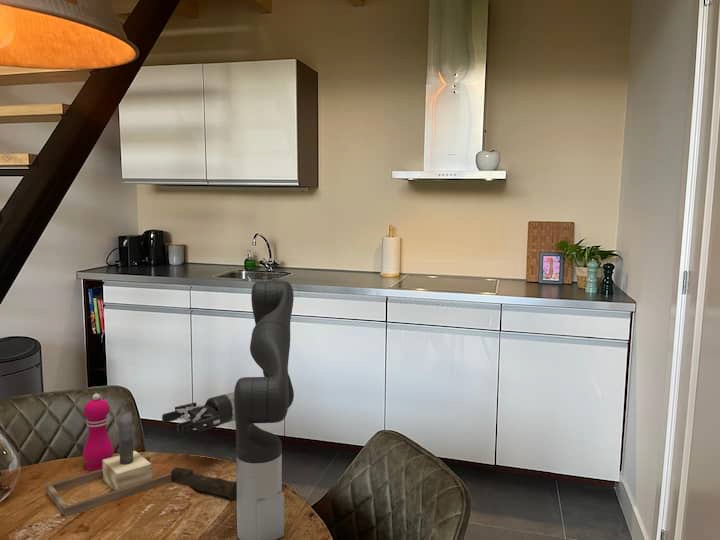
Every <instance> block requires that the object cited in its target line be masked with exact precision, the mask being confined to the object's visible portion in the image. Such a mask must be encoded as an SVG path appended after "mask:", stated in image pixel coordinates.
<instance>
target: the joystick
mask: <svg viewBox="0 0 720 540" xmlns="http://www.w3.org/2000/svg"><path fill="white" fill-rule="evenodd" d="M117 417H118V418H117V420H118V442H119V445H118V447H119V449H118V450H119V454H118V455H115V456H112V457H110V458H107V459H103V460H102V466H103V478H102V480H103V481H104V482H105V483H106V484H107V485H108V486H109V487H110V489H112V491H115V490H118V489H121V488H124V487H128V486H131V485H134V484H137V483H140V482H143V481H146V480H149V479H153V473H154V467H153V465H152V462H151V461H150V462H149V461H147V460H146V459H145V458H144V457H145V456H142V455H141V454H140V453H139V452H138V451H136V450H134V442H133V441H134V440H133V438H134V437H133V412H131V411H122V412H120V413H118V414H117Z"/></svg>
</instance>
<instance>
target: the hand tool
mask: <svg viewBox="0 0 720 540" xmlns="http://www.w3.org/2000/svg"><path fill="white" fill-rule="evenodd" d="M170 474H172V482H174V483H178V484H180V485H182V486H188V487H189V488H190V489H192V490H196V491H199V492H205V493H210V494H213V495H217V496H220V497H224V498H229V500H230V501H232V502H233V501H234V500H236V499H237V480H235V481H229V480H226V479H223V478H221V477H220V478H219V477H211V476H207V475H202V474H198V473H194V470H192V469H187V468H185V467H174V468H172V470H171V472H170Z"/></svg>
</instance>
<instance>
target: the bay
mask: <svg viewBox="0 0 720 540" xmlns="http://www.w3.org/2000/svg"><path fill="white" fill-rule="evenodd" d="M143 457H144V458H145V459H146V460H147V461H149V462H150V463H151V461H150V460H151V459H150V458H151V457H150V456H149V455H145V456H143ZM100 479H103V469H100V470H92V471H90V472H87V473H83V474H80V475H77V476H73V477H70V478H66V479H63V480H59V481H56V482H52V483H49V484H46V487H45V488H46V489H45V490H46V494H47V495H48V497H49V498H50V499H51V502H53V504H54V505H55V506H56V508H57V509H58V510H59V512H60V513H61V514H62V515H63V517H64V518H66V517H70V516H72V515H76V514H78V513H81V512H85V511H87V510H88V511H89V510H91V509H94V508H97V507H100V506H103V505H106V504H109V503H112V502H115V501H117V500H121V499H124V498H126V497H130V496H133V495H136V494H139V493H142V492H144V491H148V490H150V489H154V488H157V487H160V486H163V485H165V484H168V483H169V484H170V483H171V482H173V481H172V474H171V472H169V473H166V474H163V475H159V476H156V477H154V478H153V477H152V479H149V480H146V481H143V482H140V483H137V484H134V485H131V486H128V487H124V488H121V489H118V490H115V491H114V490H112V491H109V492H105V493H103V494H100V495H96V496H94V497H90V498H88V499H84V500H81V501H78V502H75V503H72V504H68V503H67V502H66V501H65V500H64V498H63V497H62V496H61V494H60V493H59V492H60V491H64V490H67V489H70V488H74V487H77V486H79V485H84V484H86V483H91V482H93V481H97V480H100Z"/></svg>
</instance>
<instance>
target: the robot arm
mask: <svg viewBox="0 0 720 540" xmlns="http://www.w3.org/2000/svg"><path fill="white" fill-rule="evenodd" d="M294 295H295V294H294V289H293V286H292V285H291V283H290V282H288V281H286V280H265V281H264V280H260V281H256V282H254V283H253V284H252V287H251V296H250V297H251V309H252V314H253V319H254V323H255V324H254V325H255V326H253V329H252V333H251V338H250V343H249V351H250V356H251V357H252V359H253V361H254V362H255V363H256V365H258V367H259V368H261V370H262V374H263V376H246V377H240V378H239V379H237V381H236V383H235V387H234V392H232V391H231V392H228V393H225V394H221V395H220V394H219V395H217V396H212V397H209V398H208V399H207V400H206V402H205V404H204V405H197V402H191V403H187V404H182V405H179V406H174V411H170V412H166V413H163V414H162V415H161V421H162V423H164V424H166V423H170V422H173V421H176V420H184V421H183V422H179V423H177V425H176V432H178V433H180V434H181V433H184V432H187V431H190V430H193V431H197V430H198V432H204V431H207V430H210V429H212V428H216V427H218V426H219V427H220V426H221V425H224V424H227V423H231V422H234V421H235V442H236V443H235V445H236V447H235V448H236V449H235V451H236V452H235V455H236V457H235V458H236V481H237V498H236V525H237V527H236V529H237V530H236V532H237V533H236V534H237V538H238V539H239V540H278V539H280V538H282V537H284V536H285V493H284V492H283V491H282V490H283V487H282V485H283V483H282V482H283V479H282V477H283V474H282V473H283V471H282V470H283V469H282V468H283V466H282V464H283V463H282V462H283V461H282V460H283V458H282V455H283V454H282V451H283V450H282V448H283V446H282V445H283V443H282V440H281V438H280V437H279V436H278V435H276V434H274V433H272V432H269V431H267V430H264V429H262V428H260V427H258V426H257V425H255V424H273V423H280V422H283V420H285V419H286V417H287V413H288V410H289V409H290V407H291V406H292V404H293V401H294V397H295V396H294V395H295V393H294V388H293V387H294V386H293V383H292V380H291V377H290V374H289V359H290V349H291V319H292V312H293V306H294V300H295V299H294V298H295V297H294Z"/></svg>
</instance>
